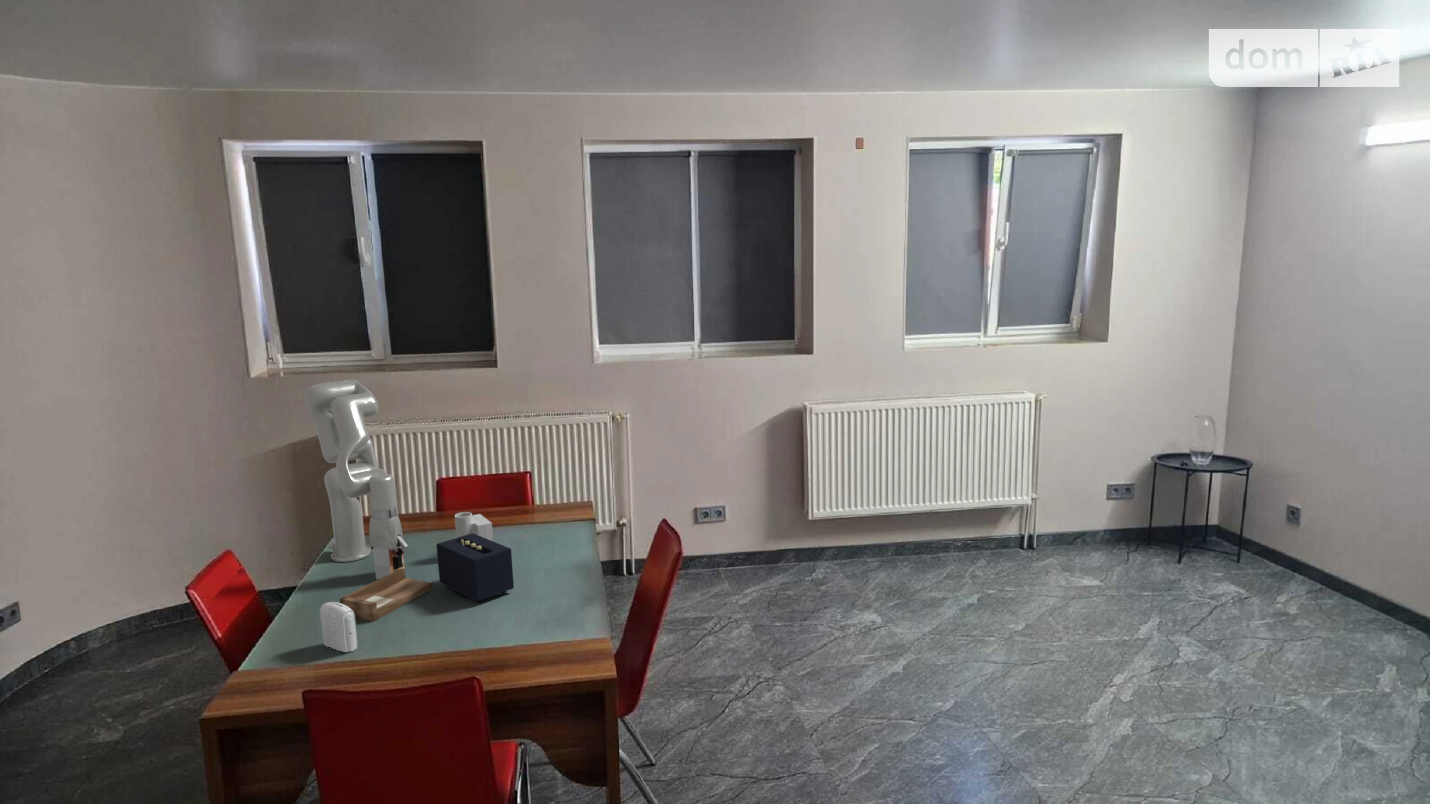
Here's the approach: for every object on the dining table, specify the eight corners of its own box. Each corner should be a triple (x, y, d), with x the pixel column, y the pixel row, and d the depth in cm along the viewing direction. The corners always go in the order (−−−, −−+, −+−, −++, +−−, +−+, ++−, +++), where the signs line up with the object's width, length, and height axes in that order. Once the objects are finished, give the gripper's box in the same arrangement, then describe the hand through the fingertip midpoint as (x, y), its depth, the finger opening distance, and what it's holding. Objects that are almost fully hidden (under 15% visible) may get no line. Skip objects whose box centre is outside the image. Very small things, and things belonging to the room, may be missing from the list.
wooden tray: (341, 615, 237) (339, 598, 236) (402, 583, 259) (400, 568, 258) (373, 621, 233) (372, 604, 232) (432, 588, 255) (431, 573, 254)
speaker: (514, 593, 250) (511, 545, 248) (477, 606, 241) (473, 558, 238) (476, 575, 265) (473, 530, 262) (439, 587, 256) (435, 541, 253)
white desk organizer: (494, 557, 280) (491, 514, 277) (452, 566, 272) (449, 523, 269) (482, 547, 290) (479, 506, 287) (441, 556, 282) (438, 513, 279)
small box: (391, 580, 262) (388, 549, 260) (375, 579, 263) (372, 548, 261) (405, 571, 269) (402, 540, 267) (390, 570, 270) (387, 539, 268)
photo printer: (360, 648, 217) (356, 604, 215) (346, 655, 214) (341, 610, 211) (335, 640, 222) (330, 596, 220) (321, 646, 219) (315, 602, 216)
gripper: (354, 513, 262) (360, 567, 265) (397, 519, 255) (402, 574, 259) (372, 506, 269) (377, 559, 272) (414, 512, 262) (419, 565, 266)
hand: (389, 566), depth 265 cm, fingers open, 6 cm apart
